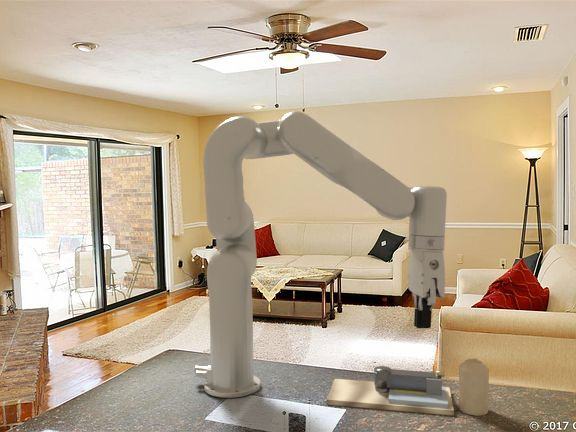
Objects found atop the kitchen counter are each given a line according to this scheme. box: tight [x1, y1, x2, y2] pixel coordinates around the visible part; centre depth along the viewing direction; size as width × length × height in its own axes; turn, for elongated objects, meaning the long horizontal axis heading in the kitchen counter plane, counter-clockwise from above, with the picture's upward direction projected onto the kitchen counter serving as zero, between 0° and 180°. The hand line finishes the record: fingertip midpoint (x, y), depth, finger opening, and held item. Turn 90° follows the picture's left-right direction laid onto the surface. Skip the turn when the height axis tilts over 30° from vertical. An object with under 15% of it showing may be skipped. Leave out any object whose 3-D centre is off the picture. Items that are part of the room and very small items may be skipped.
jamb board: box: [325, 378, 455, 416], centre depth 108 cm, size 25×12×1 cm, turn 76°
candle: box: [458, 358, 490, 417], centre depth 102 cm, size 6×6×10 cm
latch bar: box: [373, 365, 446, 391], centre depth 108 cm, size 14×4×4 cm, turn 75°
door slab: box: [389, 378, 448, 408], centre depth 106 cm, size 12×9×4 cm
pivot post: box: [375, 387, 390, 393], centre depth 110 cm, size 3×3×2 cm
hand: (422, 327), depth 112 cm, fingers closed
